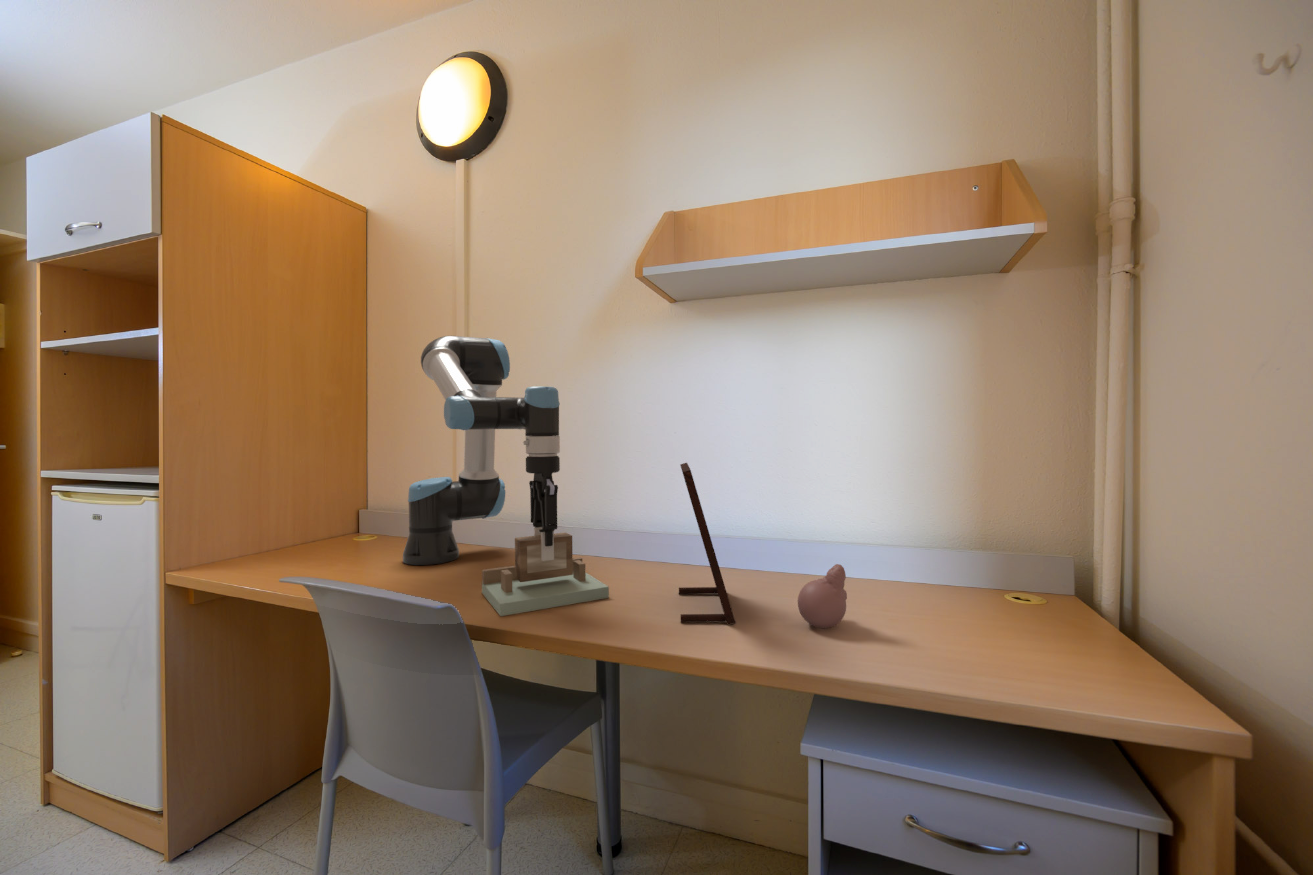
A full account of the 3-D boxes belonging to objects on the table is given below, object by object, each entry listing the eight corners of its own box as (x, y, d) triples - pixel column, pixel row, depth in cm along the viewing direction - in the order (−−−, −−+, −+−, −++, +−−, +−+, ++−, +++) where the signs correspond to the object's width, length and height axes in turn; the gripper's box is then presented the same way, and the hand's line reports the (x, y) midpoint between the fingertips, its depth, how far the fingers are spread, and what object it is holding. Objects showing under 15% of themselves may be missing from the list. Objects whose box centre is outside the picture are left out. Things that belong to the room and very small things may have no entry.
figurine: (853, 620, 110) (853, 559, 109) (839, 638, 100) (839, 572, 100) (808, 612, 114) (808, 554, 114) (791, 629, 105) (791, 566, 104)
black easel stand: (735, 625, 107) (734, 469, 107) (680, 625, 107) (679, 470, 107) (724, 592, 128) (723, 462, 127) (678, 592, 128) (677, 462, 128)
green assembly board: (482, 592, 129) (481, 565, 129) (579, 578, 140) (579, 552, 140) (500, 616, 113) (500, 584, 113) (608, 597, 125) (608, 568, 124)
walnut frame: (515, 577, 126) (514, 537, 125) (566, 570, 131) (565, 532, 131) (520, 582, 122) (520, 541, 121) (572, 574, 127) (572, 535, 127)
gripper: (515, 454, 132) (517, 551, 132) (538, 457, 116) (539, 568, 117) (546, 453, 135) (547, 548, 136) (572, 456, 120) (573, 563, 121)
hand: (543, 557), depth 126 cm, fingers closed on walnut frame, 5 cm apart
